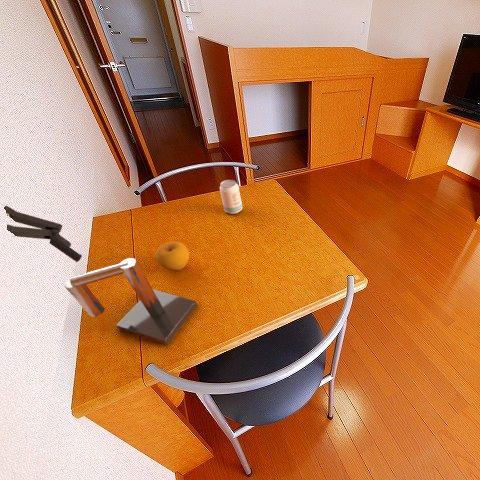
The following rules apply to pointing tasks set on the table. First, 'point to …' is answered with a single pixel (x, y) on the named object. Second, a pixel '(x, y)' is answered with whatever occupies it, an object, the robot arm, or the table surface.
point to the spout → (125, 267)
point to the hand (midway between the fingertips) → (49, 280)
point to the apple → (172, 255)
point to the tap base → (158, 318)
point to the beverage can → (231, 196)
